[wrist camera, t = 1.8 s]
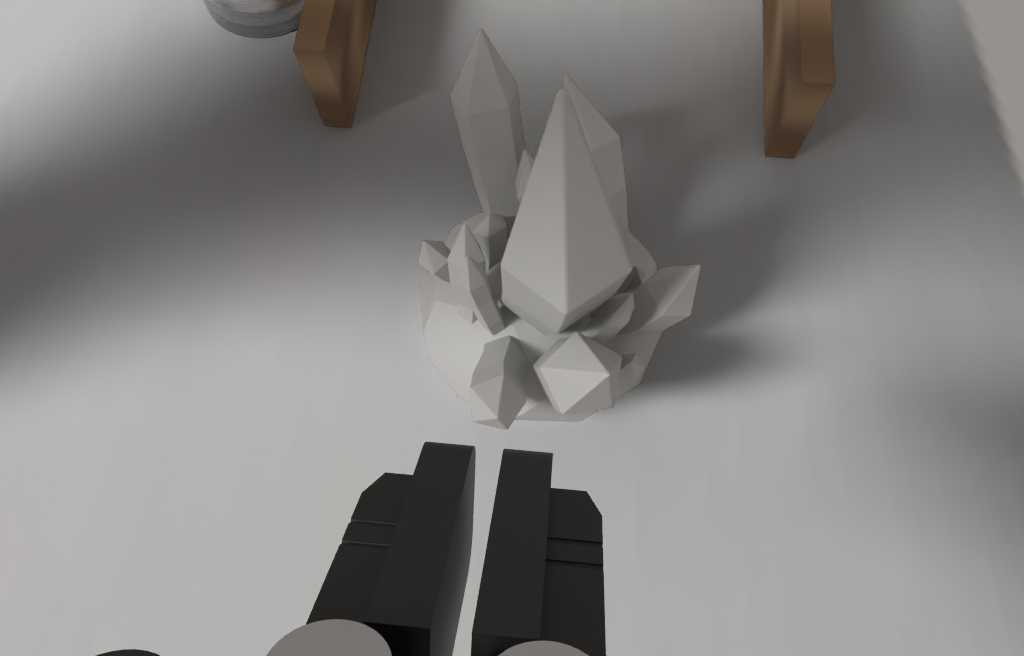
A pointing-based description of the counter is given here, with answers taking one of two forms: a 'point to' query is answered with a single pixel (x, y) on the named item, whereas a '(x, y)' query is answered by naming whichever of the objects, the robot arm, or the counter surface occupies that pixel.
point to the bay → (786, 42)
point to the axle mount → (256, 16)
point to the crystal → (542, 263)
